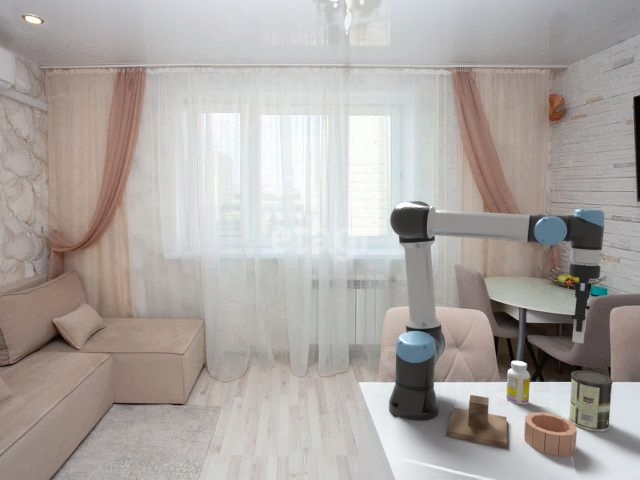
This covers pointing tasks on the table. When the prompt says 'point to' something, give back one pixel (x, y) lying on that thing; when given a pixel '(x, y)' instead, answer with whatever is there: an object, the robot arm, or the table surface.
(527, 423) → the terracotta bowl
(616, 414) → the table surface
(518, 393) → the supplement bottle
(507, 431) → the rubber mat
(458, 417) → the walnut lid
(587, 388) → the coffee can
